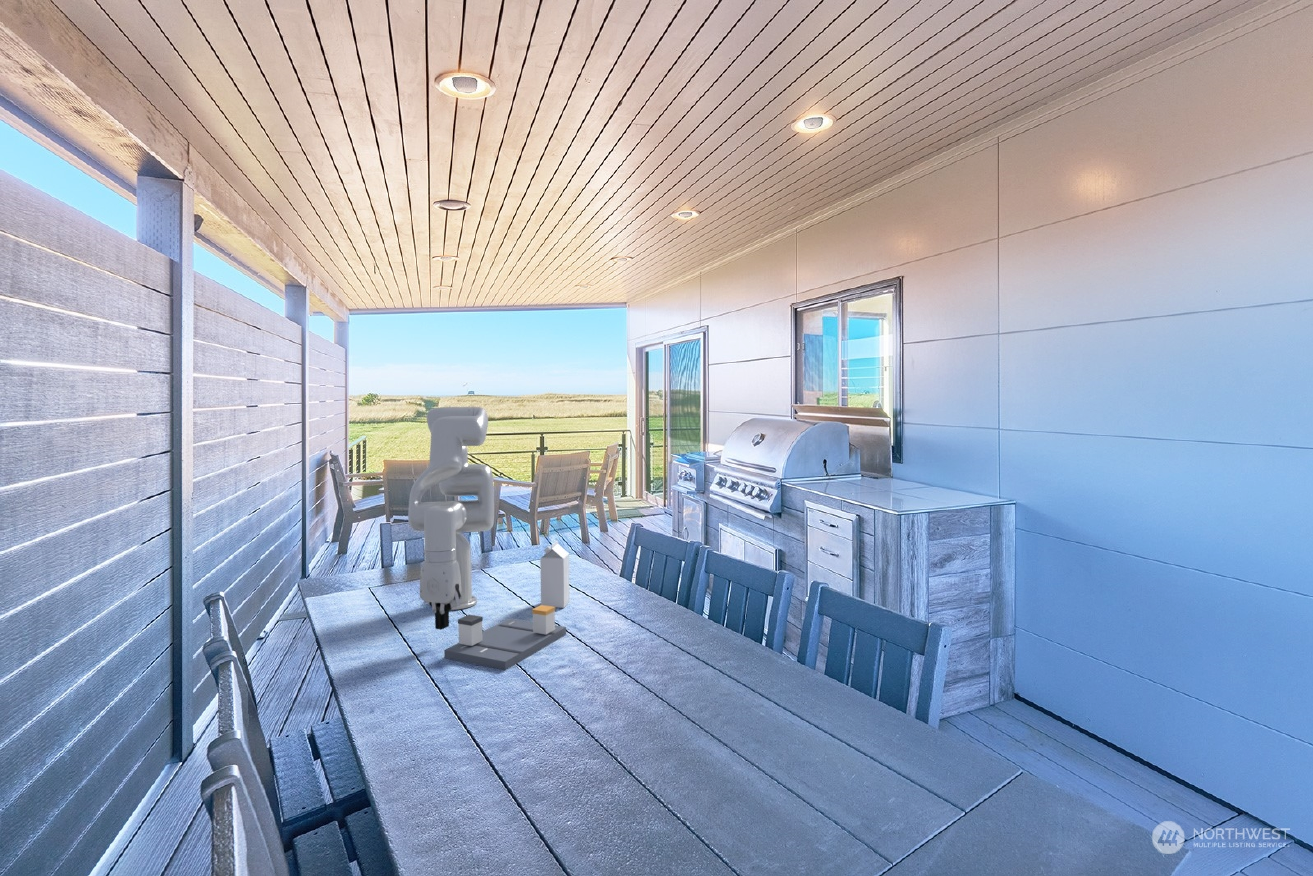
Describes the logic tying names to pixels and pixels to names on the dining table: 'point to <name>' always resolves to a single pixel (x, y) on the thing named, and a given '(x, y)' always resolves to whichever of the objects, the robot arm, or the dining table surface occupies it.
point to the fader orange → (543, 619)
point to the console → (504, 644)
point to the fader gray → (470, 630)
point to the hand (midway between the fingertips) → (442, 627)
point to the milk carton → (555, 576)
